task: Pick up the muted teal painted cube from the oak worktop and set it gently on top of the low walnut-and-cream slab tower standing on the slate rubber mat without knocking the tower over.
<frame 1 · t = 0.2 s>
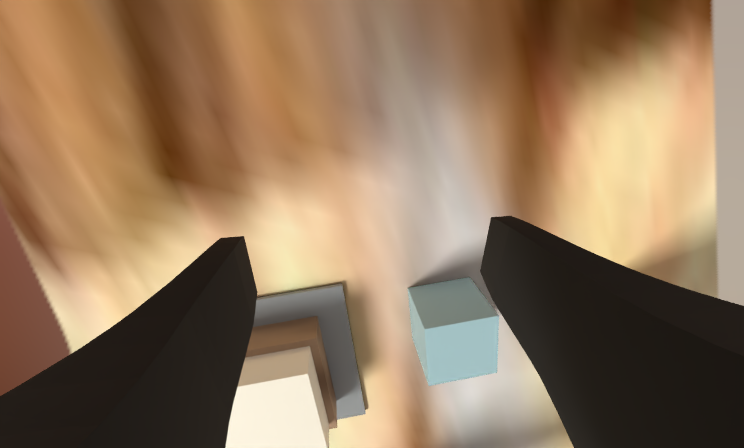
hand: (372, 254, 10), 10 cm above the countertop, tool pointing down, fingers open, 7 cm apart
teal cube: (439, 307, 24), on the countertop
cream slab: (266, 397, 22), point 2 cm above the countertop, touching walnut slab
walnut slab: (271, 371, 24), resting on slate mat, touching cream slab
slate mat: (272, 368, 24), on the countertop
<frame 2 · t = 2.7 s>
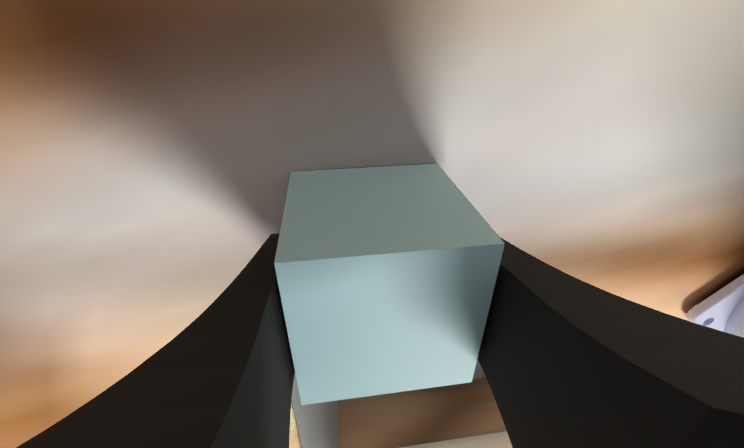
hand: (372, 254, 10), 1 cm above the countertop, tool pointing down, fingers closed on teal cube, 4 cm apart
teal cube: (366, 229, 11), on the countertop, touching gripper
walnut slab: (418, 432, 18), resting on slate mat, touching cream slab
slate mat: (416, 426, 18), on the countertop
when the fingers open (7 cm above the countertop, at t = 5.6 s): teal cube stays where it is, resting on cream slab.
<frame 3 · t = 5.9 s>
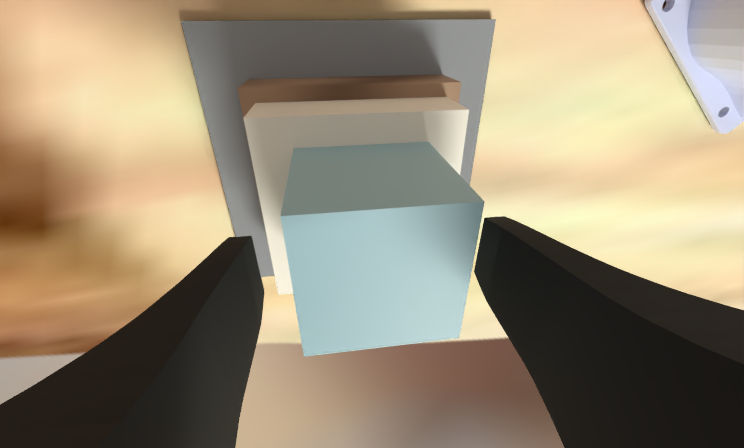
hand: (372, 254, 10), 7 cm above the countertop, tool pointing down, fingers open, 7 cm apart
teal cube: (363, 205, 12), point 5 cm above the countertop, touching cream slab
cream slab: (356, 187, 14), point 2 cm above the countertop, touching teal cube, walnut slab
walnut slab: (352, 168, 16), resting on slate mat, touching cream slab
slate mat: (351, 165, 16), on the countertop
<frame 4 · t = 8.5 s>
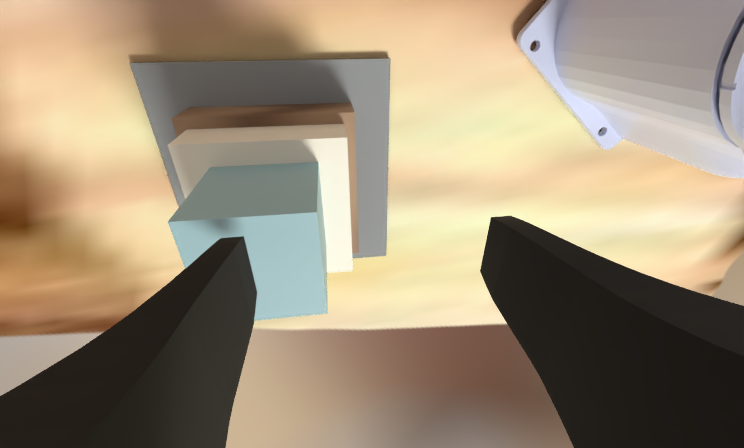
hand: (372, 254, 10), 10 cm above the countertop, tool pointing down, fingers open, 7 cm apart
teal cube: (273, 210, 15), point 5 cm above the countertop, touching cream slab
cream slab: (278, 195, 17), point 2 cm above the countertop, touching teal cube, walnut slab
walnut slab: (283, 178, 19), resting on slate mat, touching cream slab
slate mat: (283, 176, 19), on the countertop
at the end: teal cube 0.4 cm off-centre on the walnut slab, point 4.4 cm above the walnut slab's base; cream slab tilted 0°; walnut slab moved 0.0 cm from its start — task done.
